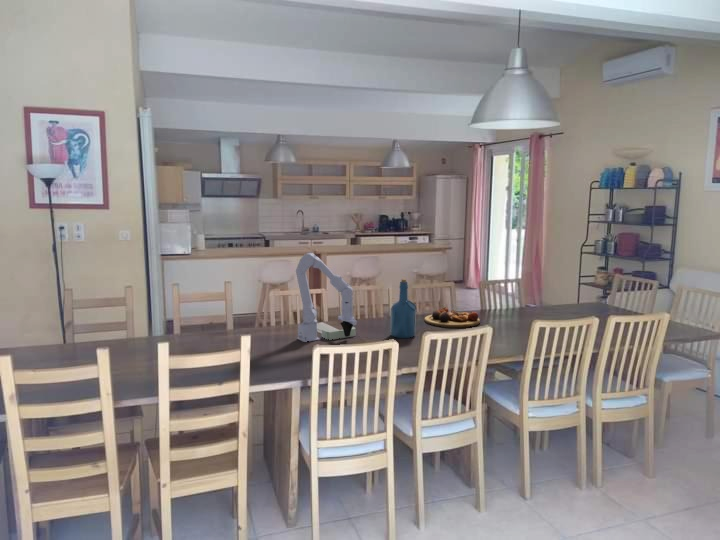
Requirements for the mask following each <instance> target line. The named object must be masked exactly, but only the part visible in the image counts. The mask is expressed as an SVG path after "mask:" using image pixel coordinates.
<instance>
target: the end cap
mask: <svg viewBox="0 0 720 540" xmlns="http://www.w3.org/2000/svg"><path fill="white" fill-rule="evenodd" d="M356 331H357V328H356V327H354V326H353V327H352V329H351V332H350V336H347V337H346V336H345V334H344V330H343V329H338V330H337V331H330V332H329V331H327V330H325V329H323V330H322V334H321V338H322V337H323V338H322V339H324V338H325V340H326V339H327V340H328V339H329V341H333V340H337V339H338V340H339V338H340V339H345V338H350V337H351V338H352V337H356V336H357V335H356V334H357V332H356ZM332 339H333V340H332Z"/></svg>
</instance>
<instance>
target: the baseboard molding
mask: <svg viewBox="0 0 720 540" xmlns="http://www.w3.org/2000/svg"><path fill="white" fill-rule="evenodd" d="M323 329H325V330H327V331H329V332H330V331H337V330H339V329H338V328H335V327H334V326H332V325H329V324H328V323H326V322H323V321H318V320H317V333H319V334H320V335H322V330H323Z"/></svg>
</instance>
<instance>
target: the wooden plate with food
mask: <svg viewBox="0 0 720 540" xmlns="http://www.w3.org/2000/svg"><path fill="white" fill-rule="evenodd" d="M424 322H425V323H426V324H428V325H430V324H431V326H434V325H435V327H439V326H441V328H453V329H454V328H469V327H470V326H471V327H474V326H477V325H479V324H480V323H481V319H480V318H479V313H477V312H476V311H473V312H472V311H471V312H465V311H464V312H459V311H458V312H457V311H454V310H451V311H449V309H448V308H447V307H442V308H438V309H435V310H433V312H432V313H431V314H429V315H427V316H425V317H424Z"/></svg>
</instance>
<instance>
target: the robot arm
mask: <svg viewBox="0 0 720 540" xmlns="http://www.w3.org/2000/svg"><path fill="white" fill-rule="evenodd" d="M311 267H312V268H314V269H319V271H321V272H322V273H323V274H324V275H325V276H326V277H327V278H328V279H329V283H330V284H331V286H333V288H335V289H336V290H337V291H338V292H339V293H340V296H341V315H338V316H337V320H338V321H342V322H340V325H341V328H342V330H344V334H345V336H346V338H348V337H347V336H350V332H351V329H352V327H354V326H355V325H356V326H357V325H358V324H357V323H358V320H356V319H355V318H356V317H354V300H353V299H354V298H353V295H354V289H353V287H352V286H351V285H350V284H349V283H347V282H346V281H345V280H344V279H343V276H342V275H339V274H335V273H333V271H332V270H331V268H329V267H328V266H327V265H326V264H325V262H323V260H322V259H321V258H319V256H316V254H315V253H313V252H306V254H304V255H303V256H302V257H301V258H299V262H298V264H297V266H296V270H295V275H296V279H297V283H298V289H299V292H300V293H299V294H300V298H301V302H302V313H303V314H302V322H301V323H299V324H298V326H297V337H296V338H297V340H299V341H301V342H303V343H308V342H307V341H309V342H313V341H319V340H321V338H320V337H318V332H317V323H318V320H317V319H316V318H317V316H318V311H317V309H316V308H315V306H314V303H313V300H312V295H311V291H310V285H309V279H308V276H307V275H308V274H307V272H308V271H309V269H310V268H311Z"/></svg>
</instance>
